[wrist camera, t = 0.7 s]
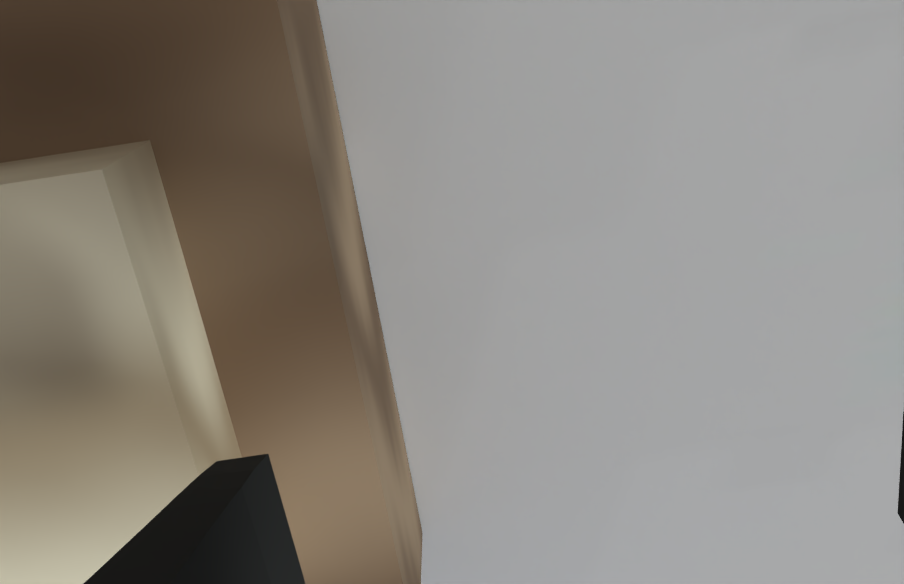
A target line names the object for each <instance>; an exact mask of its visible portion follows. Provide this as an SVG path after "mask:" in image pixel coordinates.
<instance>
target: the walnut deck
mask: <svg viewBox="0 0 904 584" xmlns="http://www.w3.org/2000/svg"><path fill="white" fill-rule="evenodd" d="M148 140H150V142H151V146H152V149H153V152H154V156H155V159H156V163H157V166H158V170H159V173H160V177H161V180H162V183H163V187H164V190H165V194H166V197H167V201H168V204H169V208H170V211H171V215H172V218H173V221H174V225H175V228H176V232H177V235H178V239H179V242H180V246H181V249H182V252H183V256H184V259H185V263H186V266H187V270H188V273H189V277H190V280H191V284H192V287H193V290H194V294H195V297H196V301H197V304H198V308H199V311H200V315H201V318H202V321H203V325H204V328H205V332H206V335H207V339H208V342H209V346H210V349H211V353H212V356H213V359H214V363H215V366H216V370H217V373H218V377H219V380H220V384H221V387H222V390H223V394H224V397H225V401H226V404H227V408H228V411H229V415H230V418H231V422H232V425H233V428H234V432H235V435H236V439H237V442H238V446H239V449H240V453H241V456H242V457H249V456H256V455H263V454H269V458H270V461H271V465H272V468H273V472H274V475H275V479H276V482H277V486H278V489H279V493H280V496H281V500H282V503H283V507H284V510H285V514H286V517H287V521H288V524H289V528H290V531H291V535H292V538H293V542H294V545H295V549H296V552H297V556H298V559H299V563H300V566H301V570H302V573H303V577H304V580H305V584H421V557H422V529H421V524H420V519H419V514H418V509H417V503H416V498H415V493H414V488H413V483H412V478H411V473H410V468H409V463H408V458H407V453H406V448H405V443H404V438H403V433H402V428H401V423H400V418H399V413H398V408H397V403H396V398H395V393H394V388H393V383H392V378H391V373H390V368H389V363H388V358H387V353H386V348H385V343H384V338H383V333H382V328H381V323H380V318H379V313H378V308H377V302H376V297H375V292H374V287H373V282H372V277H371V272H370V267H369V262H368V257H367V252H366V247H365V242H364V237H363V232H362V227H361V222H360V217H359V212H358V207H357V202H356V197H355V192H354V187H353V182H352V177H351V172H350V167H349V162H348V157H347V152H346V147H345V142H344V137H343V132H342V127H341V122H340V117H339V112H338V106H337V101H336V96H335V91H334V86H333V81H332V76H331V71H330V66H329V61H328V56H327V51H326V46H325V41H324V36H323V31H322V26H321V21H320V16H319V11H318V6H317V1H316V0H0V163H4V162H10V161H17V160H24V159H30V158H37V157H43V156H50V155H56V154H63V153H69V152H76V151H82V150H89V149H96V148H102V147H109V146H115V145H122V144H128V143H135V142H141V141H148Z"/></svg>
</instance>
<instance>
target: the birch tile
mask: <svg viewBox="0 0 904 584" xmlns="http://www.w3.org/2000/svg"><path fill="white" fill-rule="evenodd" d="M235 458H242V456H241V453H240V449H239V446H238V442H237V439H236V435H235V432H234V428H233V425H232V422H231V418H230V415H229V411H228V408H227V404H226V401H225V397H224V394H223V390H222V387H221V384H220V380H219V377H218V373H217V370H216V366H215V363H214V359H213V356H212V353H211V349H210V346H209V342H208V339H207V335H206V332H205V328H204V325H203V321H202V318H201V315H200V311H199V308H198V304H197V301H196V297H195V294H194V290H193V287H192V284H191V280H190V277H189V273H188V270H187V266H186V263H185V259H184V256H183V252H182V249H181V246H180V242H179V239H178V235H177V232H176V228H175V225H174V221H173V218H172V215H171V211H170V208H169V204H168V201H167V197H166V194H165V190H164V187H163V183H162V180H161V177H160V173H159V170H158V166H157V163H156V159H155V156H154V152H153V149H152V146H151V142H150V140H148V141H141V142H135V143H128V144H122V145H115V146H109V147H102V148H96V149H89V150H82V151H76V152H69V153H63V154H56V155H50V156H43V157H37V158H30V159H24V160H17V161H10V162H4V163H0V584H83V583H85V582H86V581H87V580H88V579H89V578H90V577H91V576H92V575H93V574H94V573H95V572H97V571H98V570H99V569H100V568H101V567H102V566H103V565H104V564H105V563H106V562H107V561H108V560H109V559H110V558H112V557H113V556H114V555H115V554H116V553H117V552H118V551H119V550H120V549H121V548H122V547H123V546H124V545H125V544H126V543H128V542H129V541H130V540H131V539H132V538H133V537H134V536H135V535H136V534H137V533H138V532H139V531H140V530H141V529H142V528H144V527H145V526H146V525H147V524H148V523H149V522H150V521H151V520H152V519H153V518H154V517H155V516H156V515H157V514H158V513H159V512H160V511H161V510H163V509H164V508H165V507H166V506H167V505H168V504H169V503H170V502H171V501H172V500H173V499H174V498H175V497H176V496H177V495H178V494H179V493H181V492H182V491H183V490H184V489H185V488H186V487H187V486H188V485H189V484H190V483H191V482H192V481H194V480H195V479H196V478H197V477H198V476H199V475H200V474H201V473H203V472H204V471H205V470H206V469H207V468H209V467H210V466H211V465H212V464H214V463H215V462H216V461H221V460H228V459H235Z"/></svg>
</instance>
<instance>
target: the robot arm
mask: <svg viewBox="0 0 904 584" xmlns="http://www.w3.org/2000/svg"><path fill="white" fill-rule="evenodd" d="M898 514H899V516H900V518H901V520H902V521H903V523H904V414H903V431H902V449H901V466H900V483H899V501H898ZM83 584H305V580H304V577H303V573H302V570H301V566H300V563H299V559H298V556H297V552H296V549H295V545H294V542H293V538H292V535H291V531H290V528H289V524H288V521H287V517H286V514H285V510H284V507H283V503H282V500H281V496H280V493H279V489H278V486H277V482H276V479H275V475H274V472H273V468H272V465H271V461H270V458H269V454H263V455H256V456H249V457H242V458H235V459H228V460H221V461H216V462H215V463H214V464H212V465H211V466H210V467H209V468H207V469H206V470H205V471H204V472H203V473H201V474H200V475H199V476H198V477H197V478H196V479H195V480H194V481H192V482H191V483H190V484H189V485H188V486H187V487H186V488H185V489H184V490H183V491H182V492H181V493H179V494H178V495H177V496H176V497H175V498H174V499H173V500H172V501H171V502H170V503H169V504H168V505H167V506H166V507H165V508H164V509H163V510H161V511H160V512H159V513H158V514H157V515H156V516H155V517H154V518H153V519H152V520H151V521H150V522H149V523H148V524H147V525H146V526H145V527H144V528H142V529H141V530H140V531H139V532H138V533H137V534H136V535H135V536H134V537H133V538H132V539H131V540H130V541H129V542H128V543H126V544H125V545H124V546H123V547H122V548H121V549H120V550H119V551H118V552H117V553H116V554H115V555H114V556H113V557H112V558H110V559H109V560H108V561H107V562H106V563H105V564H104V565H103V566H102V567H101V568H100V569H99V570H98V571H97V572H95V573H94V574H93V575H92V576H91V577H90V578H89V579H88V580H87V581H86V582H85V583H83Z"/></svg>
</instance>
